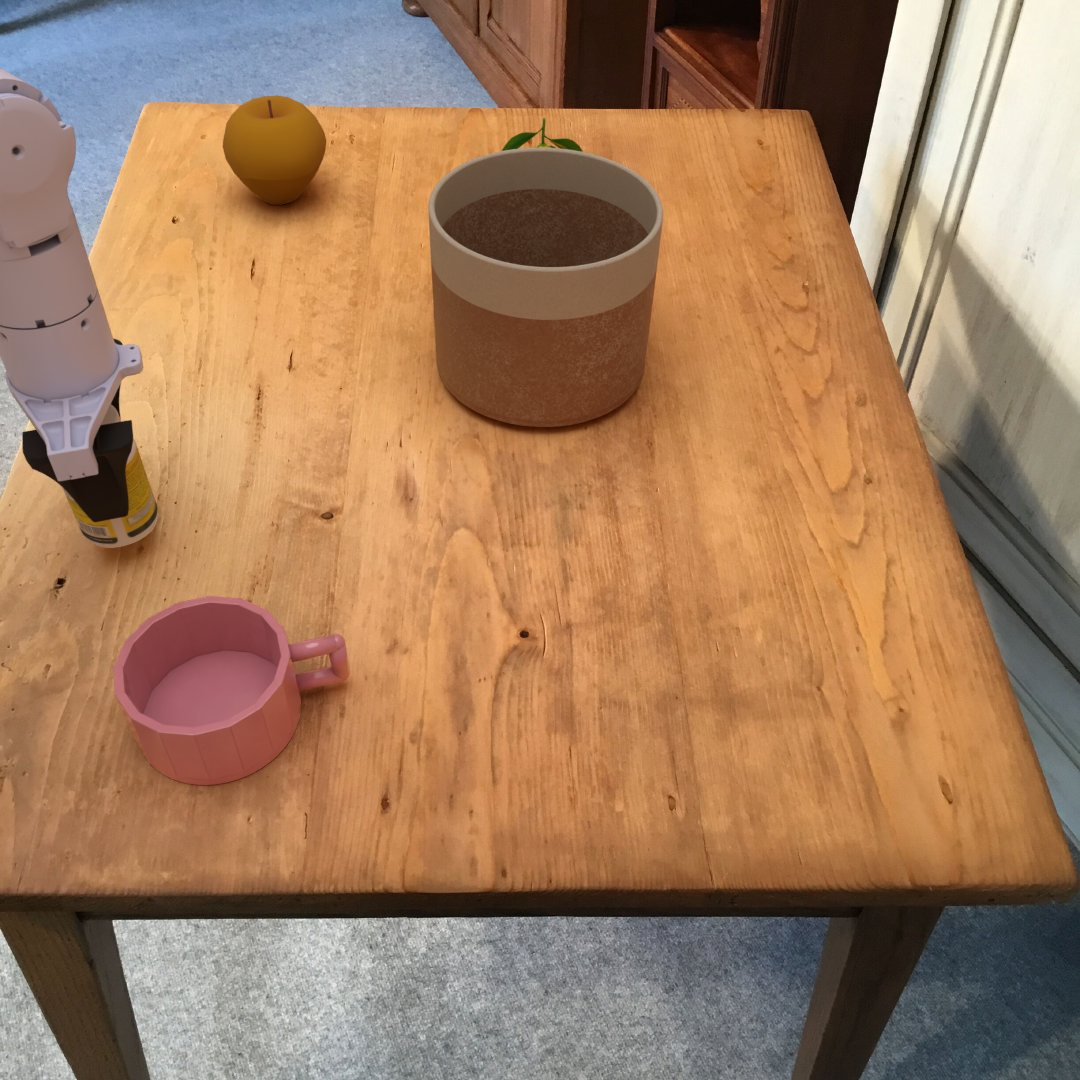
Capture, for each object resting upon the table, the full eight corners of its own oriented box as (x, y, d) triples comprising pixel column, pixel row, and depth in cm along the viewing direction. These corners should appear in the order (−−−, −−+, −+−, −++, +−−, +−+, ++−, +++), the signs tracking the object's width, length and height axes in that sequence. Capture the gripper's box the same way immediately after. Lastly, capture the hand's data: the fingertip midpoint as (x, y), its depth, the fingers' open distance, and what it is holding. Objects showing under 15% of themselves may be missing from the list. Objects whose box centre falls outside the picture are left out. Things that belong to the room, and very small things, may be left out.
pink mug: (143, 804, 57) (118, 753, 53) (131, 671, 63) (109, 616, 59) (368, 747, 60) (359, 695, 56) (337, 624, 66) (328, 570, 62)
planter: (651, 317, 88) (671, 158, 78) (633, 447, 77) (654, 282, 67) (459, 296, 89) (454, 136, 79) (415, 420, 79) (403, 254, 68)
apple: (338, 218, 97) (326, 121, 90) (235, 228, 95) (216, 130, 89) (327, 168, 103) (316, 74, 96) (231, 176, 101) (212, 81, 95)
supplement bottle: (154, 489, 71) (121, 387, 64) (165, 538, 68) (131, 436, 61) (77, 507, 69) (36, 404, 63) (84, 558, 66) (42, 456, 60)
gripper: (128, 368, 52) (187, 557, 62) (112, 215, 62) (165, 400, 72) (-28, 393, 51) (57, 583, 61) (-20, 232, 60) (53, 419, 70)
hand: (108, 486), depth 66 cm, fingers closed on supplement bottle, 5 cm apart
